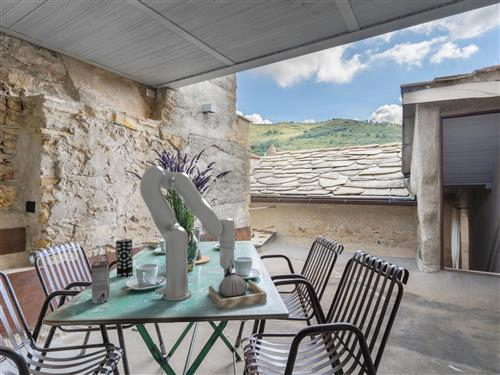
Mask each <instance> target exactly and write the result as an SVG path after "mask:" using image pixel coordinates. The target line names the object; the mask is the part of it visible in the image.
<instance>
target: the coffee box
mask: <svg viewBox="0 0 500 375" xmlns="http://www.w3.org/2000/svg"><path fill="white" fill-rule="evenodd" d="M90 268H91V304H92V303H95V302H102V301H108V302H109V300H108V299H110V296H109V295H111V293H110V292H111V289H110V288H111V285H110V284H111V283H110V281H111V280H110V260H99V261H94V262H93V263H92V265H91V267H90Z"/></svg>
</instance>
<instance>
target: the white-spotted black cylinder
mask: <svg viewBox="0 0 500 375" xmlns="http://www.w3.org/2000/svg"><path fill="white" fill-rule="evenodd" d="M115 246H116V248H115V249H116V250H115V253H116V255H115V256H116V259H115V260H116V278H117V277H127V278H129V277H128V276H131V275H132V276H134V265H133V262H134V261H133V258H134V257H133V239H131V238H126V239H125V238H124V239H118V240H115ZM132 276H131V277H132Z"/></svg>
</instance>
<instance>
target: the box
mask: <svg viewBox="0 0 500 375" xmlns="http://www.w3.org/2000/svg"><path fill="white" fill-rule="evenodd" d="M247 280H248V281H247V289H249V290H250V291H251V292H252V293H253V294H252V293H251V294H247V295H238V296H233V297H228V298H221V296H219V294H218V293H217V291H216V289H214V287H213V286H212V285H208V294H209V296H210V297H211V299H212V301H213V302H214V304H215V305H216V307H217V308H218V309H219V310H226V309H231V308H238V307H243V306H248V305H254V304H260V303H267V301H268V299H267V298H268V297H267V294H268V293H267V292H266V291H265V290H263V289H262V288H261V287H260V286H258V285H257V284H256V283H255V282H253V281H252V280H251V279H247Z"/></svg>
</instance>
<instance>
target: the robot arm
mask: <svg viewBox="0 0 500 375" xmlns="http://www.w3.org/2000/svg"><path fill="white" fill-rule="evenodd" d="M139 183H140V184H139V191H140V196H141V197H142V200H143V202H144V204H145V206H146V208H147V210H148V211H149V213H150V214H151V215H150V216H151V219H152V221H153V224H154V225H155V226H156V228H157V230H158V232H159V233H160V235H161V236H162V238H163V240H164V242H165V254H164V255H165V285H164V287H162V288H157V289H155V294H156V295H157V294H158V295H159V296H160V295H161V296H162V298H163V300H165V301H169V302H170V301H171V302H176V301H184V300H186V299H189V298H191V296H192V294H193V292H192V290H190V289H189V281H188V280H189V278H188V276H189V275H188V274H189V272H188V269H189V268H188V243H189V239H188V238H189V237H188V236H189V235H188V233H187V231H186V229H185V228H184V227H183V226H181V225H180V223H179V222H178V220H177V218H176V216H175V211H174V210H173V208H172V207H171V205H170V204H169V202H168V200H167V198H166V197H165V194H164V193H163V191H162V188H163V189H168V190H171V191H172V190H174V192H176V194H177V195H178V197H179V198H180V199H181V201H182V203H183V204H184V206H185V207H186V209H187V210H188V211H189V212H190V213H192V214H193V215H194V216H195V217H196V219H198V220H199V222H200V223H201V230H202V232H203V233H204V234H206V235H208V236H209V237H213V238H216V237H218V242H219V243H218V247H219V265H220V267H221V268H222V269H223V276H224V278H225V277H226V276H228V275H233V270H234V269H235V262H236V261H235V250H234V248H235V247H236V243H235V242H236V241H235V240H236V239H235V238H236V237H235V232H236V231H235V220H234V219H233V218H226V217H225V218H219V217H218V216H217V214H216V213H215V212H214V210H213V209H212V207H210V205H209V204H208V202H207V201H206V200H205V198H204V197H203V196H202V194H201V193H200V191H199V190H198V189H197V187H196V186H195V184H194V182H193V180H191V178H190V176H189V175H188V174H187V173H186V172H183V171H181V172H180V171H179V172H174V171H170V170H167V169H163V167H161V166H159V165H155V164H154V165H150V166H148V167H147V168H146V170H145V171H144V173H143V174H142V176H141V178H140V182H139ZM224 278H223V279H224Z"/></svg>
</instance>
